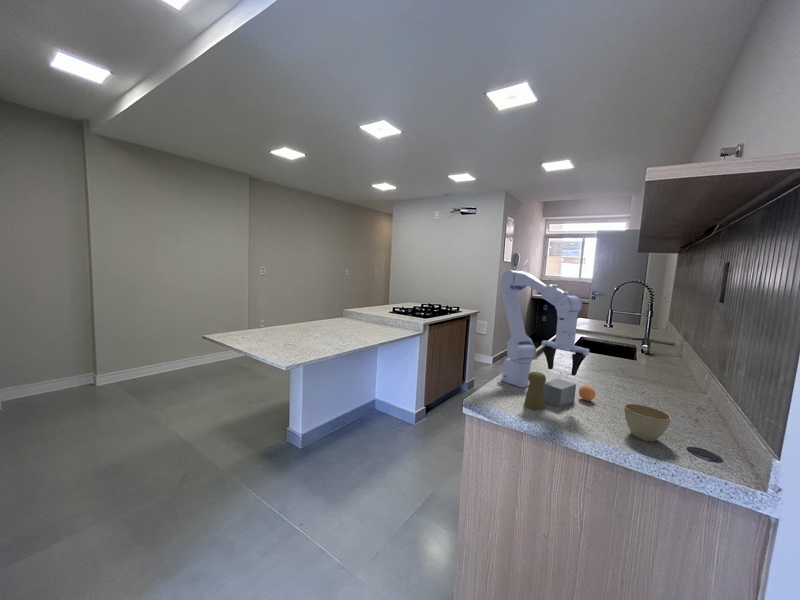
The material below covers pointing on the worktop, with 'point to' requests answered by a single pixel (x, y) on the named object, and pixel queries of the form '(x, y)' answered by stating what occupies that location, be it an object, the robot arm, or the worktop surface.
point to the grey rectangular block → (559, 392)
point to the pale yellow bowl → (646, 421)
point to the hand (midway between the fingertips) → (561, 371)
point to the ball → (587, 393)
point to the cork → (535, 391)
